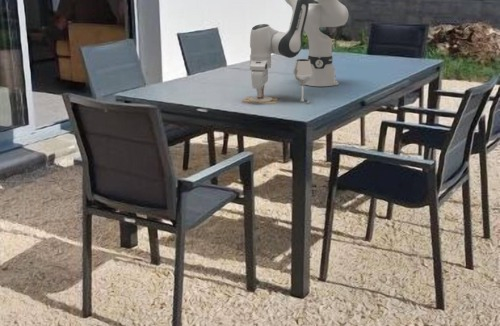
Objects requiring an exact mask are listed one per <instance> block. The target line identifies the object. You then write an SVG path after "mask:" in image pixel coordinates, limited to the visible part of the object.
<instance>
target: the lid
mask: <svg viewBox="0 0 500 326" xmlns="http://www.w3.org/2000/svg"><path fill="white" fill-rule="evenodd" d="M264 92H265V88H264V89H262V96H261V97H257V95H255V96H249V97H250V98H249V101H252V102H269V101H272V96H269V95H268V96H266V95H264V94H265V93H264Z"/></svg>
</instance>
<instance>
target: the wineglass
mask: <svg viewBox="0 0 500 326" xmlns="http://www.w3.org/2000/svg"><path fill="white" fill-rule="evenodd" d="M292 73H293V75H292V76H293V77H294V79H295V80H296V81H297V82H298V83H299V84H300V85H301V98H300V102H305V100H304V88H305V87H304V86H305V85H304V84H305V83H306V82H307V81H308V80H310V78H311V77H312V74H313V72H312V67H311V63H310V60H308V58H303V59H302V58H299V59H296V60H295V64H294V67H293V71H292ZM305 104H310V101H309V100H307V101H306V102H305Z"/></svg>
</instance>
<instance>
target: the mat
mask: <svg viewBox="0 0 500 326" xmlns="http://www.w3.org/2000/svg"><path fill="white" fill-rule="evenodd" d="M250 97H251V96H247V97H246V98H244V100H243V101H241V104H268V105H271V104H272V105H273V104H276V102H277V101H278V99H280V98H279V97H277V96H275V97H272V96H271V97H272V101H269V102H252V101H249V98H250Z"/></svg>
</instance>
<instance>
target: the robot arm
mask: <svg viewBox="0 0 500 326" xmlns="http://www.w3.org/2000/svg"><path fill="white" fill-rule="evenodd" d="M284 1H285V2H286V4H288V5H289V6H290V7H291V10H292V15H291V18H290V23H289V27H288V30H287V31H286V32H283V31H278V30H276V29H274V28H273V27H271V26H270V25H269V24H267V23H262V24H257V25H254V26H253V27H252V28H251V30H250V38H249V48H250V55H249V63H250V64H249V71H250V72H251V73H250V74H251V84H252V85H251V87H252V88H253V89H254V90H256V96H257V97H261V96H262V89H264V90H265V85H266V83H267V82H268V80H269V69H270V68H271V67H272V54H274V55H276V56H277V55H278V56H282V57H285V58H289V59H292V58H295V57H296V56H298V55H299V53H300V52H301V49H302V46H303V34H304V32H305V34H306V36H307V39H308V56H307V59H308V60H310V63H311V67H312V72H313V74H312V77H311V78H310V80H308V81H307V82H306V83H305V84H304V86H305V85H306V86H309V87H331V86H339V85H340V83H339V81H337V79H336V77H337V76H336V69H335V66H334V65H333V60H334V59H333V55H332V54H333V53H332V51H333V41H332V39H331V37H330V36H329V35H327V34H326V33H323V32H322V31H320V28H335V27H343V26H345V25H346V23H347V22H348V21H349V20H348V19H349V10H348V8H347V7H346V5H344V4H343V3H341V2H340V0H314V1H315V2H317V3H309V0H284Z"/></svg>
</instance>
